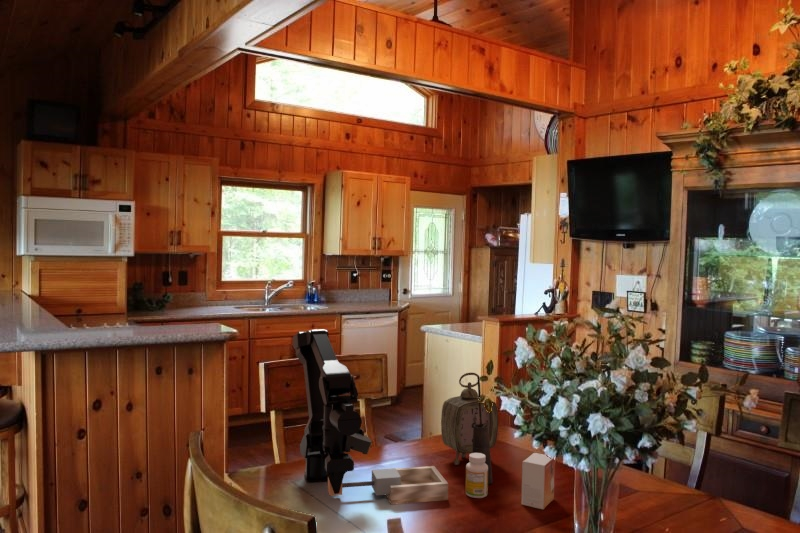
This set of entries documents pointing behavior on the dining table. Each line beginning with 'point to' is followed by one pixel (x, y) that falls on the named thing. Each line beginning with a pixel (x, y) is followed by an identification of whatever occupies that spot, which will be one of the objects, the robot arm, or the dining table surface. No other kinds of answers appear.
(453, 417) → the tabletop clock
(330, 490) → the tethered block
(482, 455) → the supplement bottle
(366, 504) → the dining table surface
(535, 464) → the small box
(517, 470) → the dining table surface
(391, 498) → the tray
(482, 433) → the butter churn
